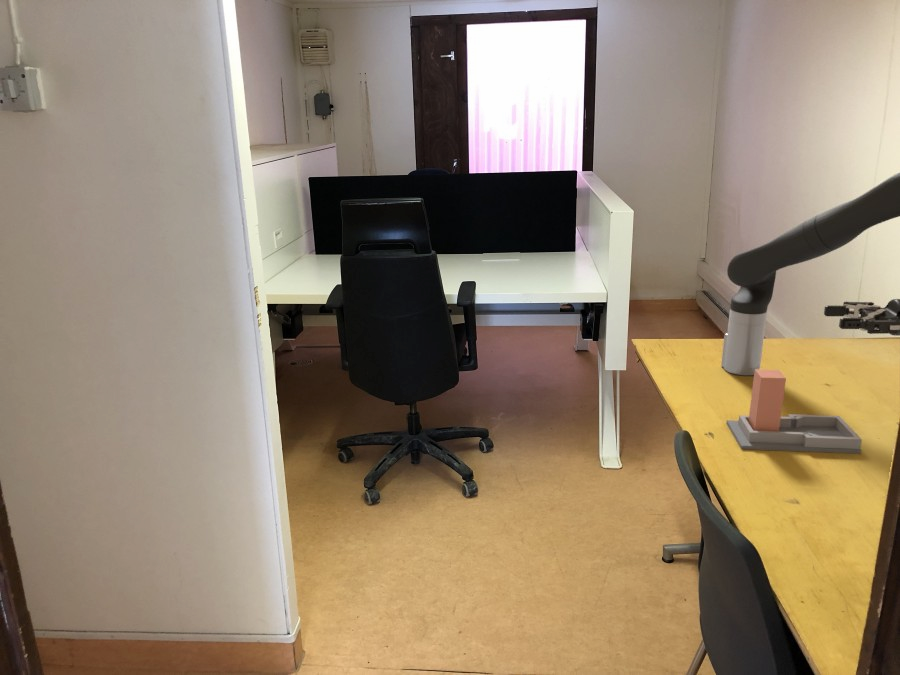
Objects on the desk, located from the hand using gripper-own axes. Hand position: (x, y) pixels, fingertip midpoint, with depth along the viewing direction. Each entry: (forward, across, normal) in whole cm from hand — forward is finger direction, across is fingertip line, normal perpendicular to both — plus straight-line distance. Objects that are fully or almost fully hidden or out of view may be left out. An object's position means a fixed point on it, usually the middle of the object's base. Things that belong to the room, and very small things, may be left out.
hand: (832, 316), depth 151 cm
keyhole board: (+5, +1, +28) cm, 28 cm away
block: (+11, +1, +27) cm, 29 cm away
